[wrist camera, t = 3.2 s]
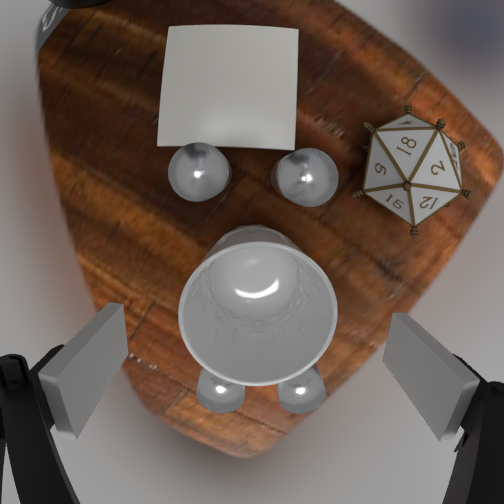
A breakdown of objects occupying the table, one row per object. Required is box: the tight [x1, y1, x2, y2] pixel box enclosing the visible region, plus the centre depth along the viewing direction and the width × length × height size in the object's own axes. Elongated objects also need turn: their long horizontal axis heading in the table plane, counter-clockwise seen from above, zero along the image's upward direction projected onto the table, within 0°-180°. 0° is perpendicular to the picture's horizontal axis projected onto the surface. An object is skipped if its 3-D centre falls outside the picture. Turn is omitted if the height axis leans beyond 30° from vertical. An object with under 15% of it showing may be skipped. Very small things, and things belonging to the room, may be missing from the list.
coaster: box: [157, 25, 298, 151], centre depth 22 cm, size 10×10×1 cm
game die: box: [351, 103, 473, 240], centre depth 20 cm, size 9×8×10 cm
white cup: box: [178, 224, 338, 386], centre depth 20 cm, size 8×8×10 cm
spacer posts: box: [168, 142, 338, 414], centre depth 22 cm, size 17×10×7 cm, turn 177°
